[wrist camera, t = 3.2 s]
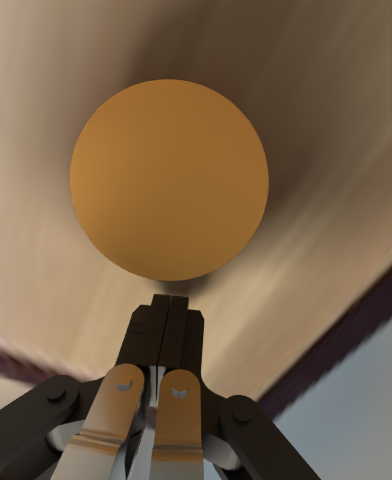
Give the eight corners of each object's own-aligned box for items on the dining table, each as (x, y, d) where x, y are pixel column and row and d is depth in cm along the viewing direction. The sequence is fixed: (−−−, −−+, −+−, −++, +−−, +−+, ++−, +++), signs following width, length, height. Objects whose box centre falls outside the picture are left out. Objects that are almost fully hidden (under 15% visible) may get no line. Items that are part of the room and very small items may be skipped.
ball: (100, 65, 10) (-1, 78, 6) (272, 79, 10) (314, 106, 5) (111, 218, 13) (49, 312, 8) (246, 231, 13) (259, 334, 8)
